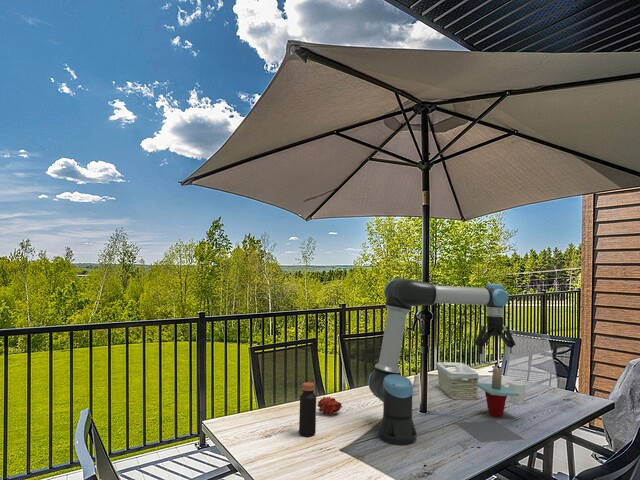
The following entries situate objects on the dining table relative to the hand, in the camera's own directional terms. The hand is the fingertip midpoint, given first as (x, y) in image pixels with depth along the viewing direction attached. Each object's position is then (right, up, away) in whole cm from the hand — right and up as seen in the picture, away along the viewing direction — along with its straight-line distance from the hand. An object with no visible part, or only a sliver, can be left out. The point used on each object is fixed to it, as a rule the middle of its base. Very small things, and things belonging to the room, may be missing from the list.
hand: (495, 360), depth 188 cm
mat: (-12, -24, -20) cm, 34 cm away
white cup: (+20, -28, +19) cm, 39 cm away
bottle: (-89, -22, -27) cm, 96 cm away
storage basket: (-7, -29, +32) cm, 44 cm away
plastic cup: (0, -26, -2) cm, 26 cm away
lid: (0, -14, -1) cm, 14 cm away
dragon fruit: (-79, -24, -4) cm, 83 cm away
